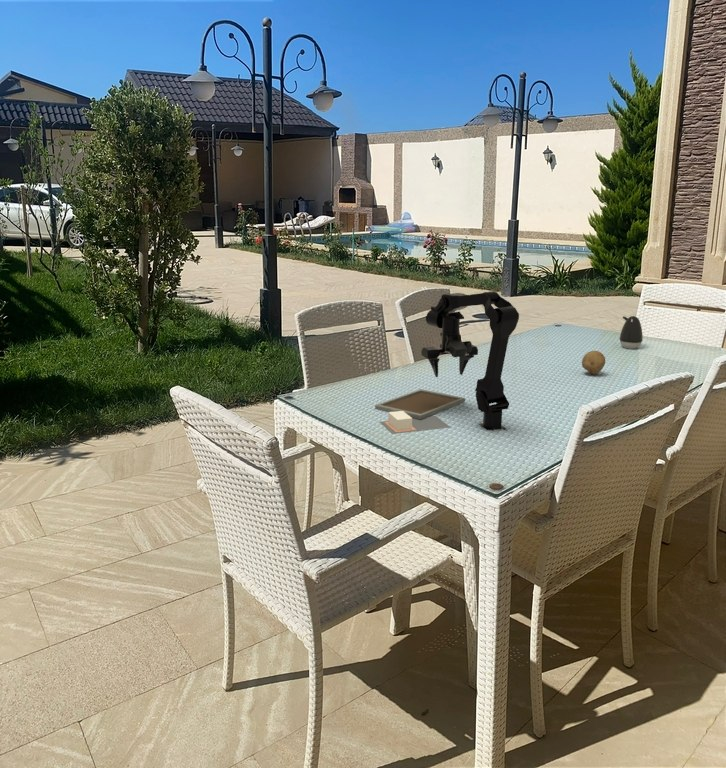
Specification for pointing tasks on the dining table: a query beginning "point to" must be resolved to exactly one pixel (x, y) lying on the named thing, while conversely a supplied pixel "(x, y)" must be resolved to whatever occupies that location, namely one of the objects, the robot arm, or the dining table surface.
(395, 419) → the beige rectangular block
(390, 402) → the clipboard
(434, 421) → the mat
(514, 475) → the dining table surface
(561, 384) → the dining table surface
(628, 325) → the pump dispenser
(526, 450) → the dining table surface
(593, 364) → the brown potato
